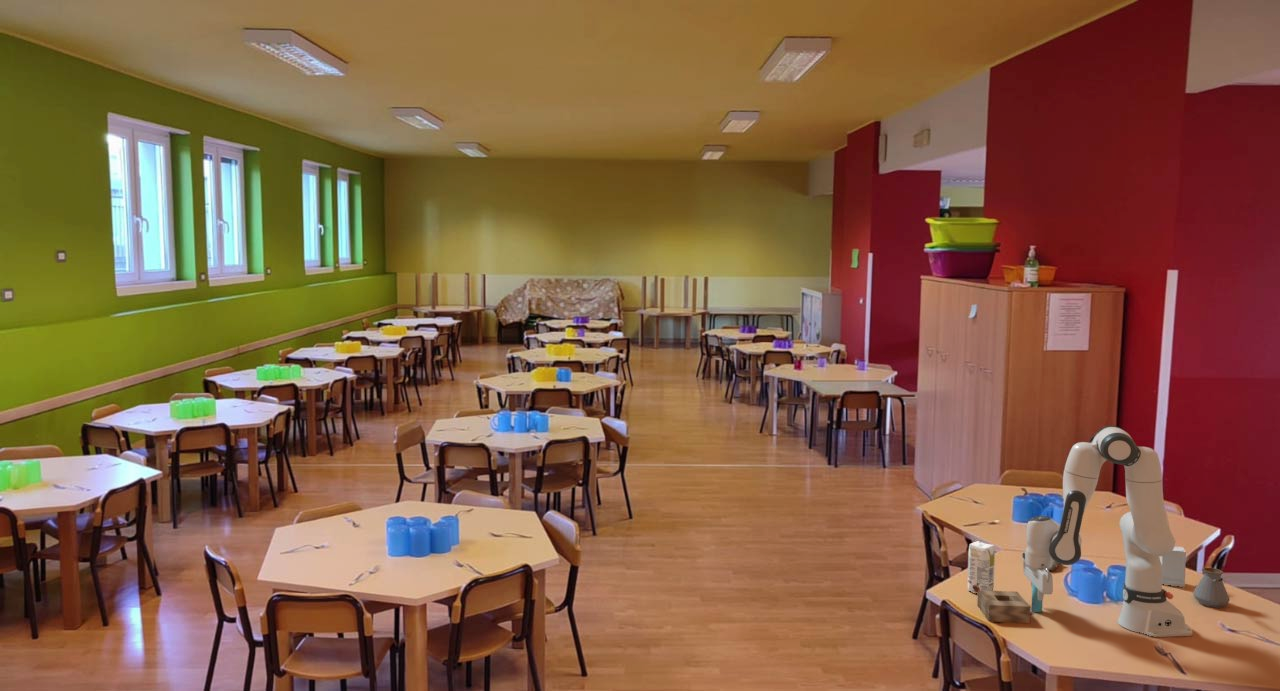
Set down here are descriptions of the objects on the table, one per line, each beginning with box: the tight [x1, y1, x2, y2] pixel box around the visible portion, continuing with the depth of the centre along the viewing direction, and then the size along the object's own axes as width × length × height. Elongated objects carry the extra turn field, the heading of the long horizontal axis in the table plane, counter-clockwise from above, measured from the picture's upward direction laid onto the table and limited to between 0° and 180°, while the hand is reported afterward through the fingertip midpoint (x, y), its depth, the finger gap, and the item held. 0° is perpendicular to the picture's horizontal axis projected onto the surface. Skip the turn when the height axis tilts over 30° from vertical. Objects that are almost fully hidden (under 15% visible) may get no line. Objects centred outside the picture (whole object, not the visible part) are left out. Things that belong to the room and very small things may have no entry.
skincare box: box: [1159, 546, 1187, 588], centre depth 340 cm, size 8×6×15 cm
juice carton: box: [967, 540, 996, 595], centre depth 332 cm, size 8×9×19 cm
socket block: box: [976, 590, 1031, 624], centre depth 311 cm, size 14×14×6 cm
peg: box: [1030, 583, 1044, 613], centre depth 314 cm, size 4×4×12 cm
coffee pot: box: [1192, 567, 1231, 609], centre depth 316 cm, size 21×12×15 cm, turn 156°
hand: (1037, 596), depth 314 cm, fingers closed on peg, 4 cm apart
